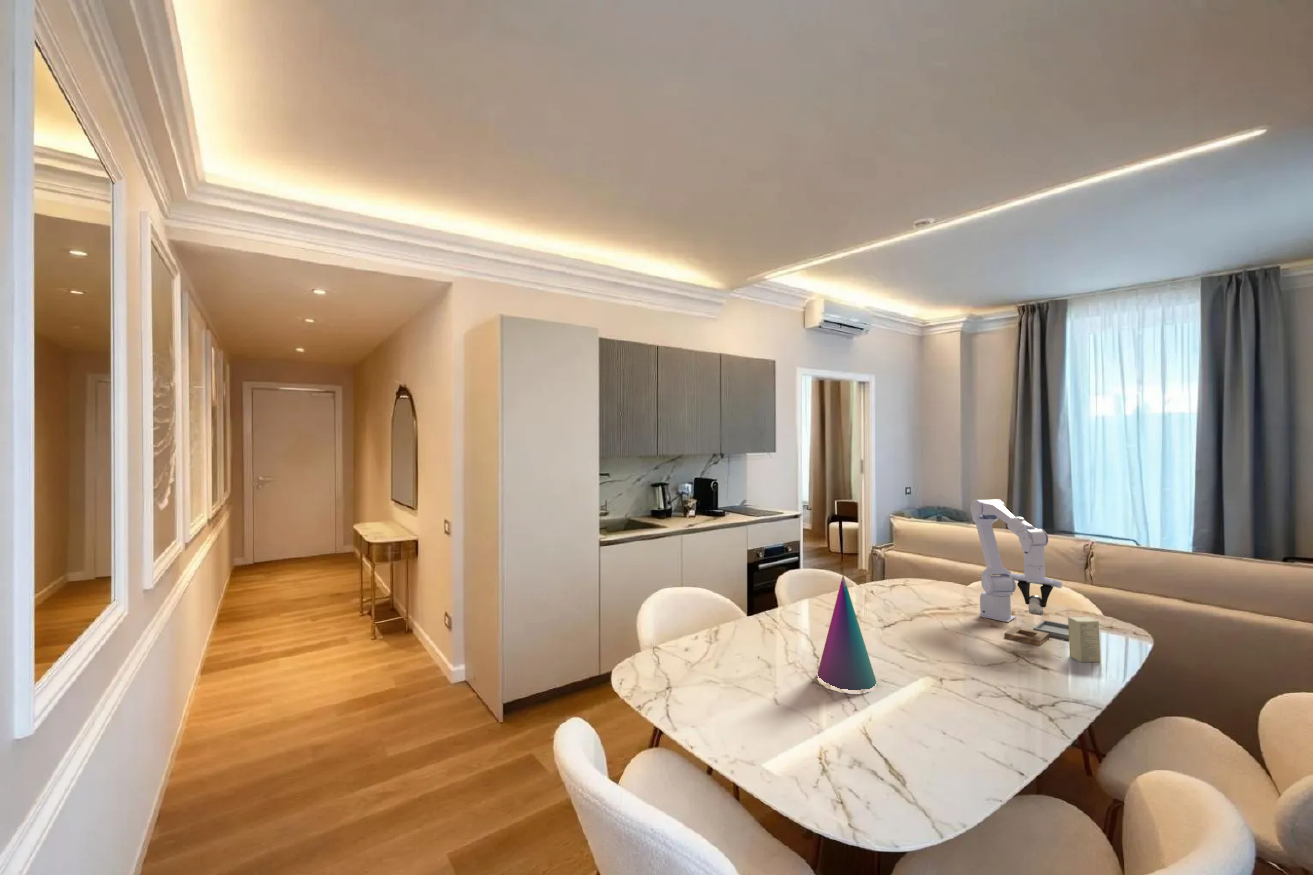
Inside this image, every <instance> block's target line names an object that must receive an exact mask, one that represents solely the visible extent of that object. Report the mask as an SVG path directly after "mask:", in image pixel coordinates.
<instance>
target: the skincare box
mask: <svg viewBox="0 0 1313 875" xmlns="http://www.w3.org/2000/svg"><path fill="white" fill-rule="evenodd" d="M1067 622H1068V623H1067V625H1068V627H1069V640H1068V644H1069V645H1068V646H1069V647H1068V648H1069V657H1070V658H1072V659H1074V660H1076V661H1077V662H1079V663H1080V662H1082V663H1084V662H1085V663H1089V662H1090V663H1092V662H1093V663H1094V662H1095V663H1097V662H1101V642H1100V640H1101V639H1100V622H1099V620H1096V619H1095V618H1092V617H1090V616H1068V617H1067Z"/></svg>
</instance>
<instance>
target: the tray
mask: <svg viewBox="0 0 1313 875" xmlns="http://www.w3.org/2000/svg"><path fill="white" fill-rule="evenodd" d="M1032 630H1036V631H1040V632H1045V633H1049V637H1051V638H1057V639H1060V640H1066V641H1069V627H1068V623H1067V624H1066V623H1061V622H1057V621H1051V620H1045V619H1044V620H1042V621H1041V622H1039V623H1038V624H1037V625H1035V626H1034V627H1033V628H1032Z"/></svg>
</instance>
